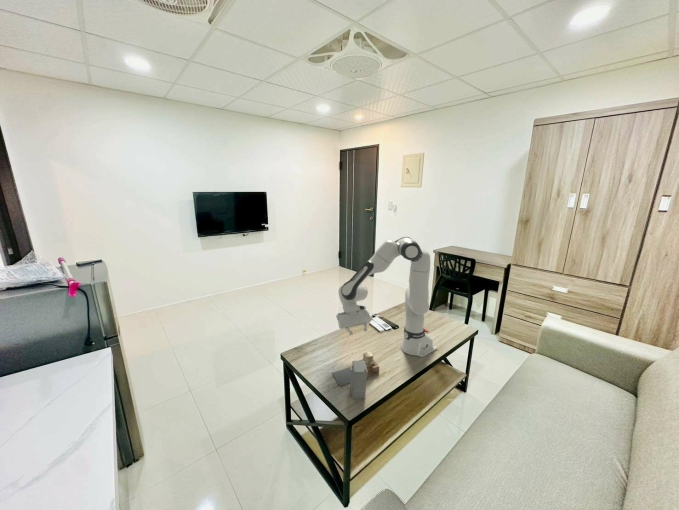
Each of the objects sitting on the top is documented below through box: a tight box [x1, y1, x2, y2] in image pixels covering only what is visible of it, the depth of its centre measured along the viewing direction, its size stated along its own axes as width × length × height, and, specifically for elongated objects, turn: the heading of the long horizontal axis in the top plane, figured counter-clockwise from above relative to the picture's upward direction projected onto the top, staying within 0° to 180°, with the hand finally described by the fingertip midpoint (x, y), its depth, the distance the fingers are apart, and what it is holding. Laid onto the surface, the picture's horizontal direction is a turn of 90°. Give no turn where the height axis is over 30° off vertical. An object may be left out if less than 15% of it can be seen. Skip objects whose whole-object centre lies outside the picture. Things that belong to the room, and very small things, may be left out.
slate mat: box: [331, 367, 352, 387], centre depth 145 cm, size 11×11×1 cm
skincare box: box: [350, 360, 368, 400], centre depth 132 cm, size 8×7×16 cm
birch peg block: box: [362, 351, 374, 368], centre depth 150 cm, size 4×4×10 cm
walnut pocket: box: [358, 359, 380, 377], centre depth 150 cm, size 9×9×4 cm
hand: (358, 333), depth 157 cm, fingers open, 8 cm apart
